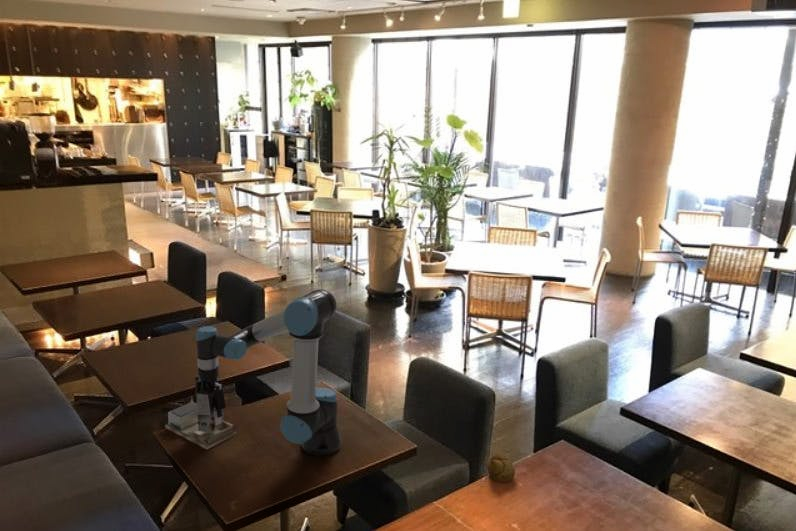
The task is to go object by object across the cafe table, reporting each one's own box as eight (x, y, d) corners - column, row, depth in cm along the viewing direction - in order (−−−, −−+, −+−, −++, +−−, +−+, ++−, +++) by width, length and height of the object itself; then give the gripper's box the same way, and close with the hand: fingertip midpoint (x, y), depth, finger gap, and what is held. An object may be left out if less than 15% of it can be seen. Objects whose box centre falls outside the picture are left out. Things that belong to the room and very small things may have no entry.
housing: (205, 418, 251) (204, 406, 249) (180, 429, 241) (180, 417, 240) (192, 412, 255) (192, 400, 254) (168, 423, 246) (167, 411, 245)
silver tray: (236, 434, 242) (235, 426, 241) (206, 449, 231) (206, 440, 230) (194, 414, 257) (194, 406, 256) (165, 427, 246) (164, 419, 245)
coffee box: (213, 433, 234) (211, 395, 230) (197, 431, 235) (195, 393, 231) (224, 422, 243) (222, 385, 239) (209, 419, 244) (207, 383, 240)
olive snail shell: (486, 463, 228) (488, 444, 226) (513, 466, 227) (514, 446, 225) (486, 483, 216) (488, 463, 214) (514, 486, 215) (516, 466, 213)
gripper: (234, 370, 230) (236, 425, 236) (199, 356, 241) (201, 408, 247) (218, 377, 224) (220, 433, 230) (182, 362, 235) (185, 415, 241)
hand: (210, 420), depth 238 cm, fingers closed on coffee box, 8 cm apart
